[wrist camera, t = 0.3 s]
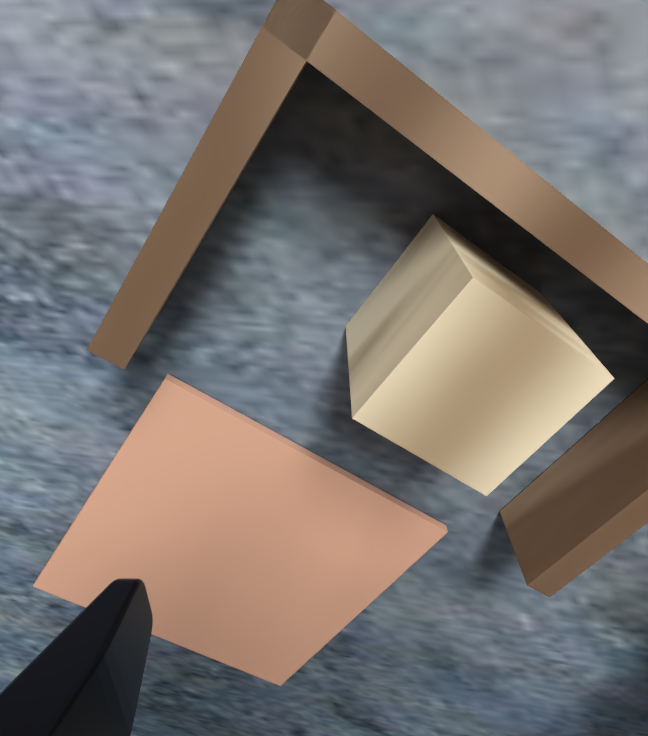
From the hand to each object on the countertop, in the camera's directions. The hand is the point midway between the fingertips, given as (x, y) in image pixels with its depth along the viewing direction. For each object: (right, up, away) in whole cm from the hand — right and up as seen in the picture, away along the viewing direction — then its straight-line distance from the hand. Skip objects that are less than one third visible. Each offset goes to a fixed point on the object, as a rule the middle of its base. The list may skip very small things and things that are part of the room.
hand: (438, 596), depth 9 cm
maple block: (+3, +6, +12) cm, 14 cm away
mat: (-6, -5, +18) cm, 20 cm away
